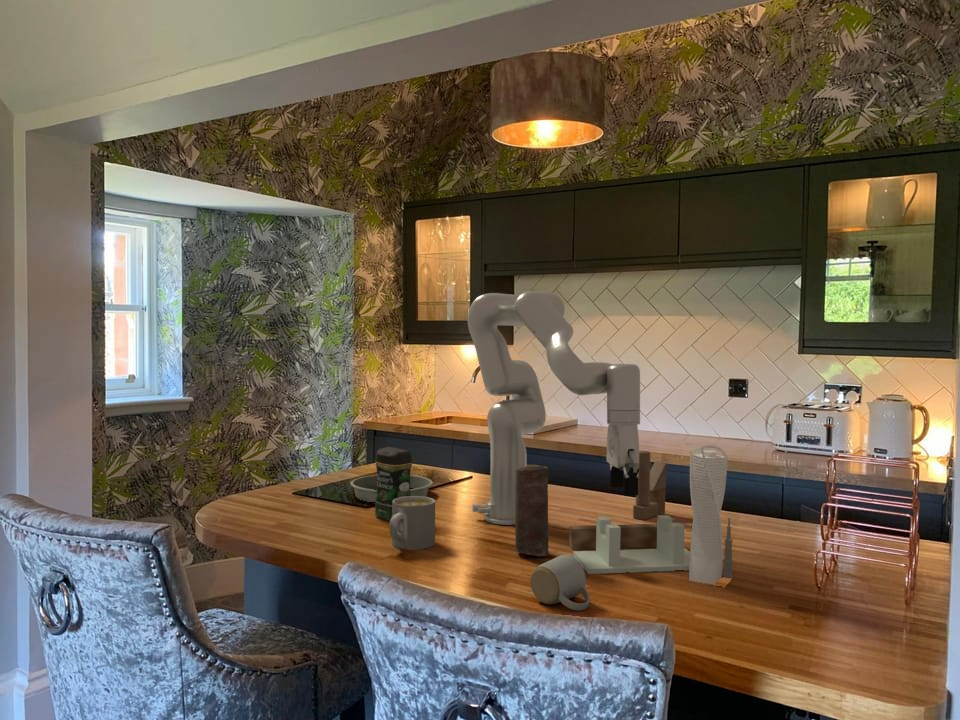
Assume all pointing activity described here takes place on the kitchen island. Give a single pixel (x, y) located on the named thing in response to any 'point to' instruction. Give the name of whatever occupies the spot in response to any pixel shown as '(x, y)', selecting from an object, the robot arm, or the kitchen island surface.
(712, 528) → the skyscraper
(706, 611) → the kitchen island surface
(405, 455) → the coffee jar
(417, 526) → the coffee mug
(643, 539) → the walnut rail
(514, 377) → the robot arm
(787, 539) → the kitchen island surface
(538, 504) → the candle
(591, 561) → the notched stand
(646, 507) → the brown wooden upright piece
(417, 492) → the cake pan
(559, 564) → the ceramic mug
